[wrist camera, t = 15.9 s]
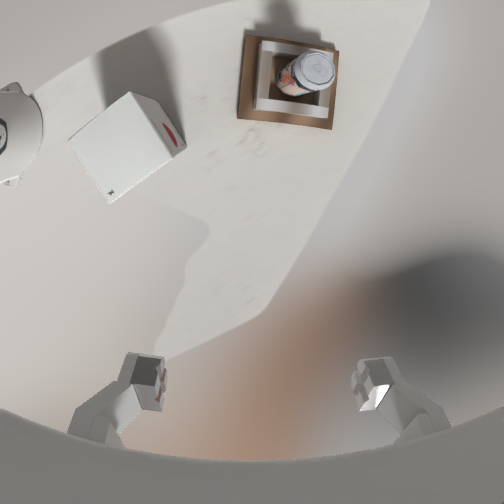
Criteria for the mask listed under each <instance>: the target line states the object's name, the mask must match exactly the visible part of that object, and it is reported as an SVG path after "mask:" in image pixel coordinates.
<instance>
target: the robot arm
mask: <svg viewBox="0 0 504 504" xmlns="http://www.w3.org/2000/svg"><path fill="white" fill-rule="evenodd" d="M9 90H10V91H9ZM42 132H43V125H42V117H41V113H40V110H39V108H38V106H37V104H36V103H35V102H34V100H33V99H31V98H30V97H29V96H27V95H26V94H25V93H24V92H23V90H22V88H21V86H20V84H19V83H17V82H14V83H11V84H9V85H7V86H6V87H4V88H2V89H0V186H5V187H10V188H13V187H17V186H18V185H19V183H20V180H21V178H22V175H23V173H24V172H25V170H26V169H27V168H28V167H29V166H30V165H31V164H32V162H33V161H34V159H35V157H36V155H37V153H38V151H39V148H40V145H41V140H42ZM9 180H10V181H9ZM164 365H165V360H164V357H161V356H154V355H146V354H139V353H132V352H128V353H127V355H126V357H125V360H124V363H123V365H122V368H121V371H120V374H119V377H118V380H117V381H113V382H112V383H111V384H109V385H108V386H106V387H105V388H104V389H102V390H101V391H100V392H98V393H97V394H96V395H94V396H93V397H92V398H90V399H89V400H87V401H86V402H85V403H83V404H82V405H81V406H79V407H78V408H77V409H76V410H75V412H74V415H73V417H72V420H71V423H70V426H69V428H68V431H67V433H64V432H61V431H58V430H55V429H52V428H50V427H47V426H44V425H41V424H39V423H36V422H33V421H31V420H28V419H26V418H23V417H21V416H18V415H16V414H14V413H11V412H9V411H7V410H4V409H0V504H504V407H501V408H498V409H496V410H493V411H491V412H489V413H487V414H485V415H482V416H480V417H477V418H475V419H472V420H470V421H467V422H464V423H462V424H459V425H456V426H454V427H451V425H450V423H449V421H448V418H447V416H446V414H445V412H444V410H443V408H442V407H441V406H440V405H438V404H437V403H435V402H434V401H432V400H431V399H430V398H428V397H427V396H425V395H424V394H423V393H421V392H420V391H418V390H417V389H416V388H414V387H413V386H411V385H410V384H409V383H404V381H403V379H402V377H401V375H400V372H399V370H398V368H397V366H396V364H395V362H394V360H393V358H392V357H382V358H371V359H360V360H359V361H358V363H357V368H358V369H357V370H355V371H354V372H353V374H352V377H351V387H352V390H353V392H354V393H355V394H356V395H357V397H356V399H355V400H356V403H357V406H358V409H359V411H366V410H374V409H376V411H377V412H378V413H379V414H380V415H381V416H382V417H384V419H385V420H386V421H387V422H388V423H389V424H390V425H391V426H392V427H393V428H394V429H395V430H396V431H397V432H398V433H400V436H399V437H398V438H397V439H396V440H395V442H394V443H393V444H392V445H387V446H383V447H378V448H374V449H368V450H363V451H357V452H352V453H345V454H339V455H330V456H322V457H314V458H302V459H287V460H261V461H239V460H212V459H198V458H187V457H177V456H169V455H162V454H154V453H149V452H142V451H137V450H132V449H127V448H126V447H125V446H124V444H123V442H122V441H121V439H120V437H119V436H118V435H119V434H120V433H121V432H122V431H123V430H124V429H125V428H126V427H127V426H128V425H129V424H130V423H131V422H132V421H133V420H134V419H135V417H137V416H138V414H139V413H140V412H141V411H142V409H143V410H151V411H159V412H162V407H163V403H164V396H163V393H164V392H165V391H166V387H167V370H166V369H165V368H164Z"/></svg>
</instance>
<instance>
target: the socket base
mask: <svg viewBox="0 0 504 504" xmlns="http://www.w3.org/2000/svg"><path fill="white" fill-rule="evenodd" d="M307 51H318V52H321V53H323V54H325V55H327V56H328V57H329V58H330V59H331V61H332V62H333V64H334V66H335V73H336V74H335V79H334V81H333V83H332V84H331V85H330V86H329V87H327V88H325V89H323V90H316V91H313V92H309V93H306V94H302V95H300V96H297V97H290V96H287V95H284V94H283V93H282V92H281V91H280V90H279V89H278V87H277V85H276V76H277V74H278V72H279V71H280V70H281V69H282V68H284V67H285V66H286V65H287V64H289V63H290V62H291V61H293V60H294V59H295V58H297V57H298V56H299V55H301V54H302V53H304V52H307ZM338 60H339V51H337V50H333V49H329V48H324V47H320V46H315V45H310V44H305V43H299V42H294V41H288V40H281V39H274V38H267V37H258V36H249V35H246V37H245V45H244V55H243V65H242V75H241V86H240V96H239V108H238V119H247V120H259V121H269V122H278V123H287V124H295V125H303V126H310V127H316V128H323V129H329V130H332V125H333V116H334V106H335V96H336V85H337V73H338Z"/></svg>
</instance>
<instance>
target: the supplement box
mask: <svg viewBox="0 0 504 504" xmlns="http://www.w3.org/2000/svg"><path fill="white" fill-rule="evenodd" d="M68 142H69V144H70V145H71V147H72V149H73V150H74V152H75V153H76V155H77V157H78V158H79V160H80V161H81V163H82V164H83V166H84V168H85V170H86V172H87V174H88V175H89V176H90V177H91V178H92V180H93V181H94V183H95V184H96V186H97V187H98V189H99V190H100V192H101V193H102V195H103V196H104V198H105V199H106V201H107V202H108V203H109V204H110V203H112V202H114V201H115V200H116V199H118V198H119V197H121V196H122V195H124V194H125V193H126V192H128V191H129V190H131V189H132V188H133V187H135V186H136V185H138V184H139V183H140V182H142V181H143V180H145V179H146V178H147V177H149V176H150V175H152V174H153V173H154V172H156V171H157V170H159V169H160V168H161V167H163V166H164V165H165V164H167V163H168V162H169V161H171V160H172V159H173V158H175V157H176V156H177V155H179V154H180V153H181V152H182V151H184V150H185V149H186V148H187V146H186V145H185V143H184V141H183V140H182V138H181V137H180V135H179V133H178V132H177V130H176V129H175V127H174V126H173V124H172V122H171V121H170V119H169V118H168V116H167V115H166V113H165V111H164V110H163V108H162V107H161V105H160V104H159V102H158V101H156V100H153V99H150V98H148V97H145V96H142V95H139V94H137V93H134V92H131V91H129V92H127V93H126V94H125V95H124V96H122V97H121V98H119V99H118V100H117V101H115V102H114V103H113V104H112V105H110V106H109V107H108V108H106V109H105V110H104V111H103V112H101V113H100V114H99V115H98V116H96V117H95V118H94V119H93V120H91V121H90V122H89V123H87V124H86V125H85V126H84V127H83V128H81V129H80V130H79V131H78V132H77V133H75V134H74V135H73V136H72V137H71V138H70V139H69V140H68Z"/></svg>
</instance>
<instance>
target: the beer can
mask: <svg viewBox="0 0 504 504" xmlns="http://www.w3.org/2000/svg"><path fill="white" fill-rule="evenodd" d="M335 74H336V73H335V66H334V64H333V62H332V61H331V59H330V58H329V57H328V56H327V55H325V54H323V53H321V52H318V51H307V52H304V53H302V54H301V55H299V56H298V57H297V58H295V59H294V60H293V61H291V62H290V63H289V64H287V65H286V66H285V67H284V68H282V69H281V70H280V71H279V72H278V74H277V76H276V85H277V87H278V89H279V90H280V91H281V92H282V93H283V94H284V95H287V96H290V97H297V96H300V95H302V94H306V93H309V92H313V91H316V90H323V89H325V88H327V87H329V86H330V85H331V84H332V83H333V81H334V79H335Z"/></svg>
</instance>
